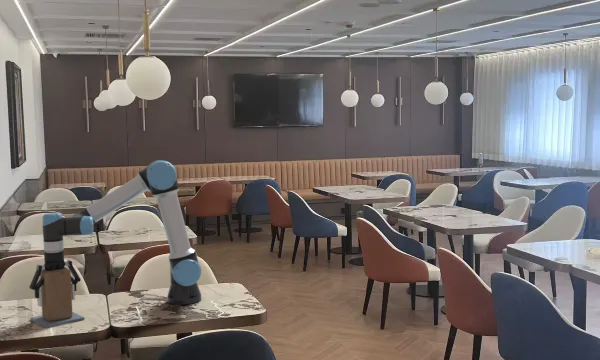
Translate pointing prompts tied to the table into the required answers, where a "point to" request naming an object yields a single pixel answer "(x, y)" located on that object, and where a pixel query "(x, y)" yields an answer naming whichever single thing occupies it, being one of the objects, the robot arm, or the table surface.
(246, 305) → the table surface
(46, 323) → the slate plate
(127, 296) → the table surface
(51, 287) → the wooden block
